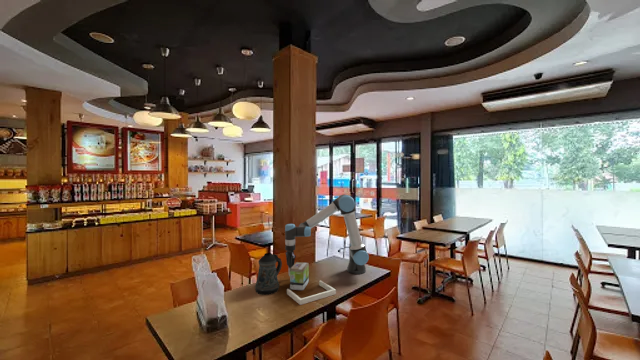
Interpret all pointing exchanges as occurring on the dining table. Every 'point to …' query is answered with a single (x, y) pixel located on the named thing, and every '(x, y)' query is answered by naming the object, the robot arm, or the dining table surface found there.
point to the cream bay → (314, 297)
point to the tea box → (299, 276)
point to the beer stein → (268, 274)
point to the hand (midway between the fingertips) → (290, 275)
